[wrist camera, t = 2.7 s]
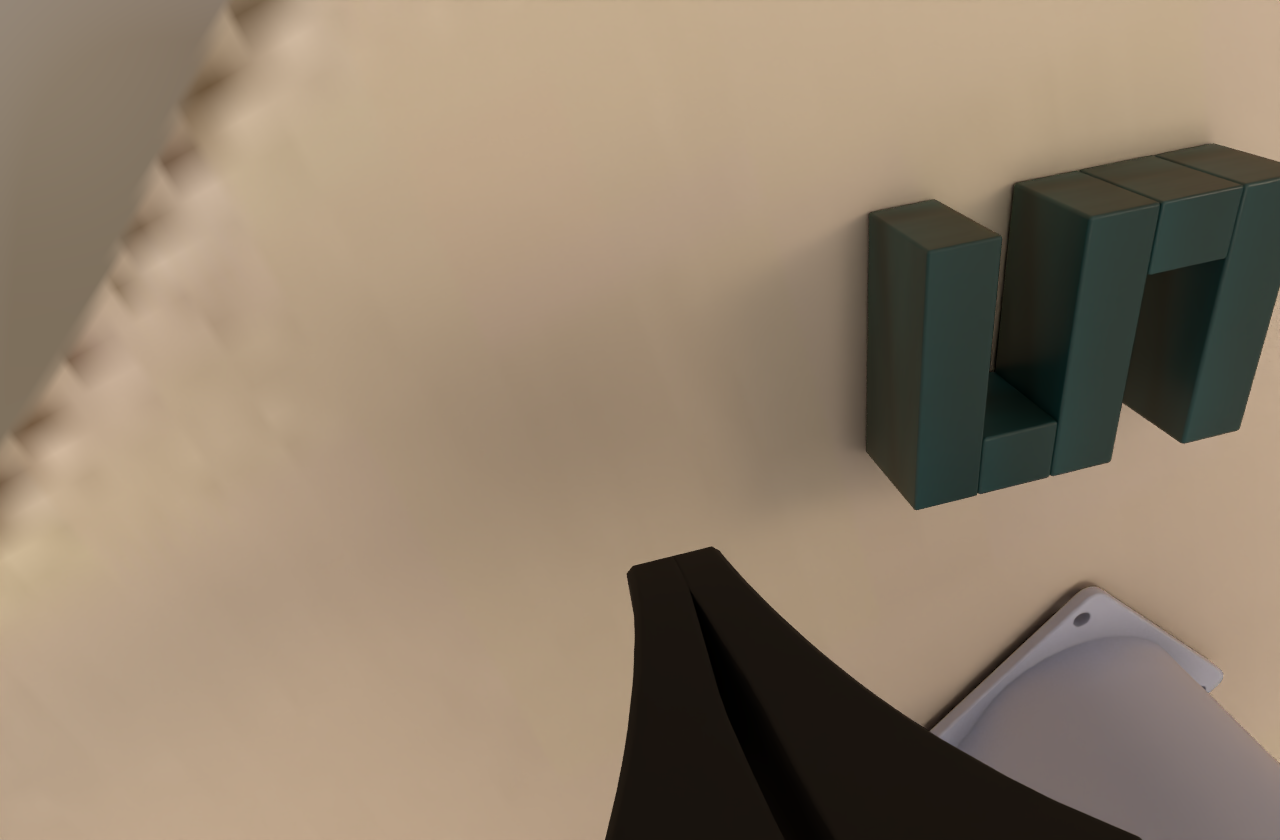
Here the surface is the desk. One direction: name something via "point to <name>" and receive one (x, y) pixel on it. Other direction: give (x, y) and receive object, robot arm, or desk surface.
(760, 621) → the robot arm
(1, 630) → the desk surface
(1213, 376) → the letter S
